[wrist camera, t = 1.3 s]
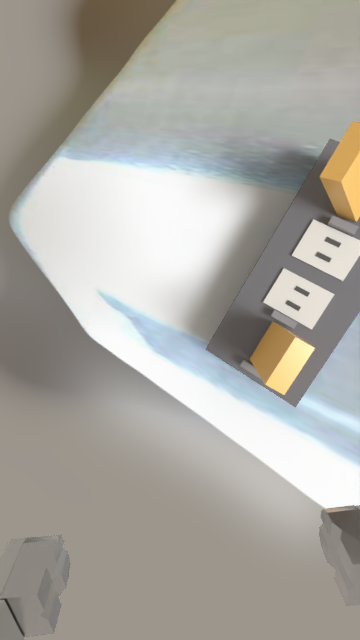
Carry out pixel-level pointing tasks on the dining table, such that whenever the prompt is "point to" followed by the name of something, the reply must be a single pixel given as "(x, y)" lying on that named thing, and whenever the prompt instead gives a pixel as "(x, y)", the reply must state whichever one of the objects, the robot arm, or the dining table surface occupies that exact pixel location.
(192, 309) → the dining table surface
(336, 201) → the switch
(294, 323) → the power box
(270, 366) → the switch
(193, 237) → the dining table surface
